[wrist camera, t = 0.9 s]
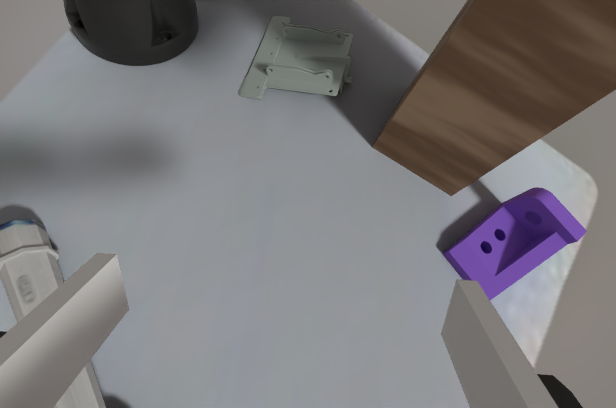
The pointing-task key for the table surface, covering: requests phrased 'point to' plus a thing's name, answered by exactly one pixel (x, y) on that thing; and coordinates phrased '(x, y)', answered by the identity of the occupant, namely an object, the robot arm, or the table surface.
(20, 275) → the toothbrush head
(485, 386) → the robot arm
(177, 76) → the table surface
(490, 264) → the bracket
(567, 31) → the stand
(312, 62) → the metal bracket
